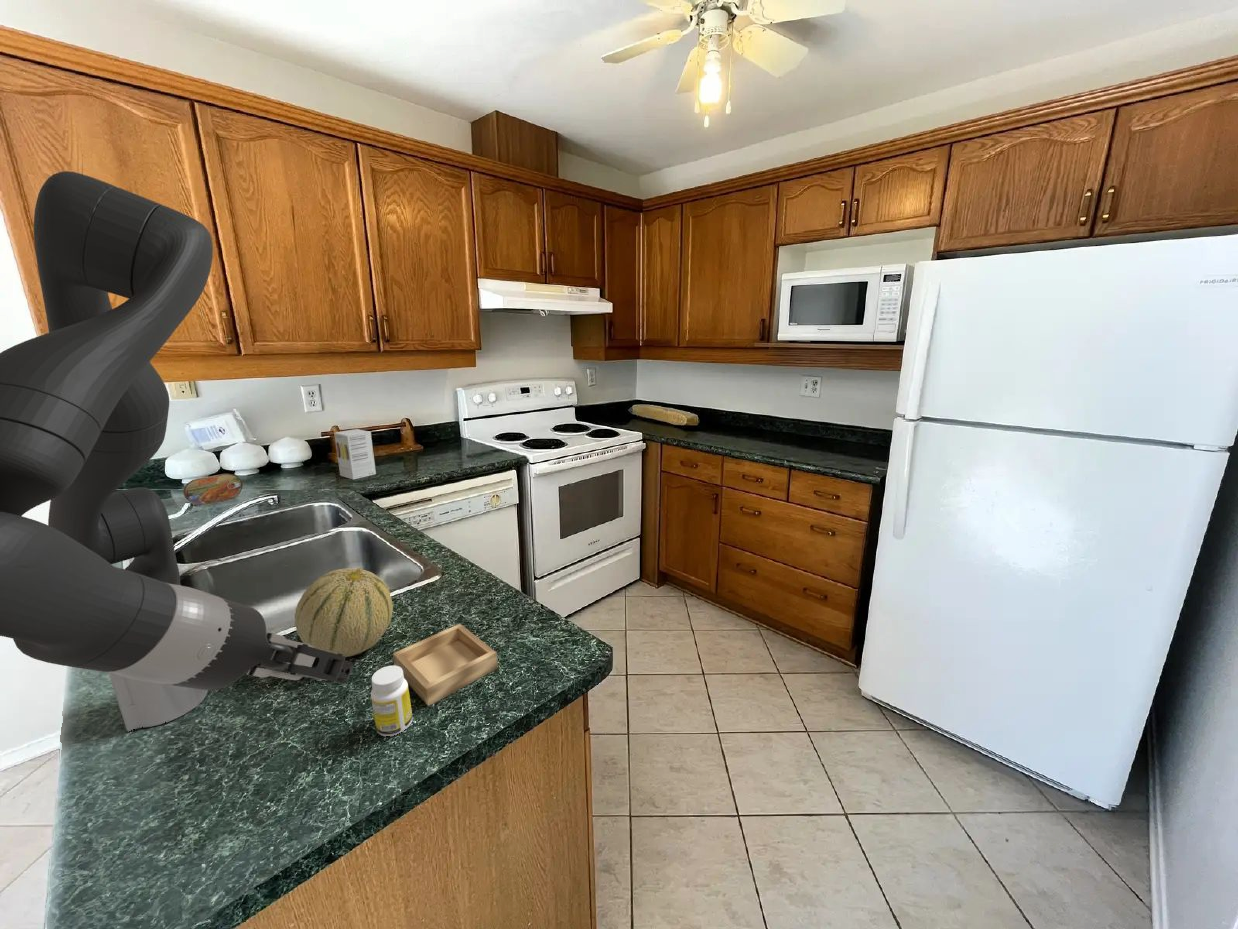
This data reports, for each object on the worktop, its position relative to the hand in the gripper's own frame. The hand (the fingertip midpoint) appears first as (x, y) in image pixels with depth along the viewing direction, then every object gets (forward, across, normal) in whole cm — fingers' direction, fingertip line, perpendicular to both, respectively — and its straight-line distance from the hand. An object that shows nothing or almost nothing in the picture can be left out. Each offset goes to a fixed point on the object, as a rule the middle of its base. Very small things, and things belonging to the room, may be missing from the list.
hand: (315, 667), depth 57 cm
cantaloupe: (+29, +19, -5) cm, 35 cm away
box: (+28, 0, -4) cm, 29 cm away
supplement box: (+92, +95, -72) cm, 150 cm away
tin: (+66, +118, -47) cm, 144 cm away
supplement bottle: (+20, 0, +5) cm, 20 cm away
